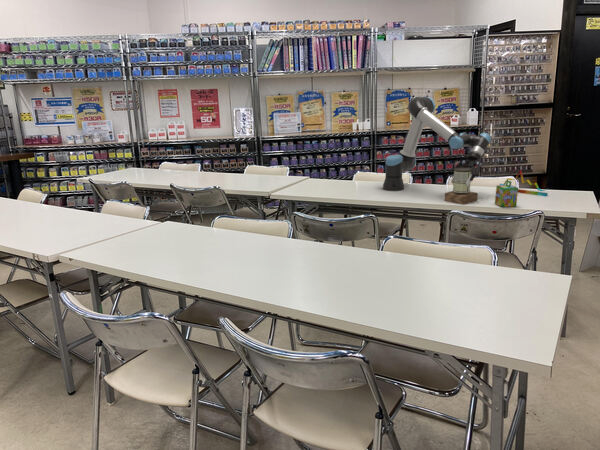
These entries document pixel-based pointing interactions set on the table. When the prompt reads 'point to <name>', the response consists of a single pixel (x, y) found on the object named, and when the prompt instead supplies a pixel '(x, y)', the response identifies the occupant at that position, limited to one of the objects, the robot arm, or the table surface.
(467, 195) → the walnut block
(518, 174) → the chart
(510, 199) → the colourful patterned gift box
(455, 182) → the coffee can
